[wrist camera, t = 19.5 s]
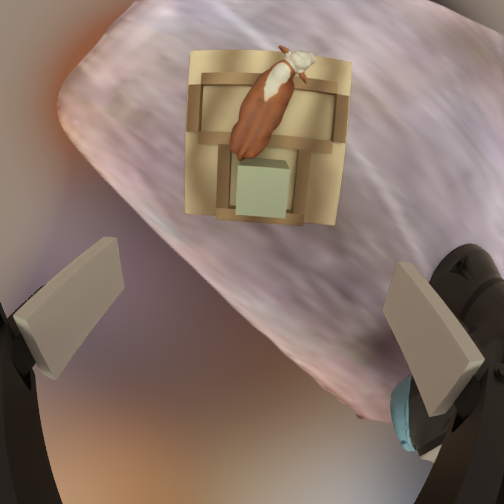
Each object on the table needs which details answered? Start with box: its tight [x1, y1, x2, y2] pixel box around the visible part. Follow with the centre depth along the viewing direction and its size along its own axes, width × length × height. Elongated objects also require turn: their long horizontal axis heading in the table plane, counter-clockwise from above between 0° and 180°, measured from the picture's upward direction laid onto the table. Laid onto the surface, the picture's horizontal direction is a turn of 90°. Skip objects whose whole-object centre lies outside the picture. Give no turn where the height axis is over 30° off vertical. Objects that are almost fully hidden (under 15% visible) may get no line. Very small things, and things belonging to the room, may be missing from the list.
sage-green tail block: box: [236, 158, 290, 219], centre depth 31 cm, size 5×5×8 cm
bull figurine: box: [229, 46, 316, 161], centre depth 25 cm, size 4×13×8 cm, turn 150°
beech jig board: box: [185, 50, 352, 226], centre depth 32 cm, size 20×22×2 cm
